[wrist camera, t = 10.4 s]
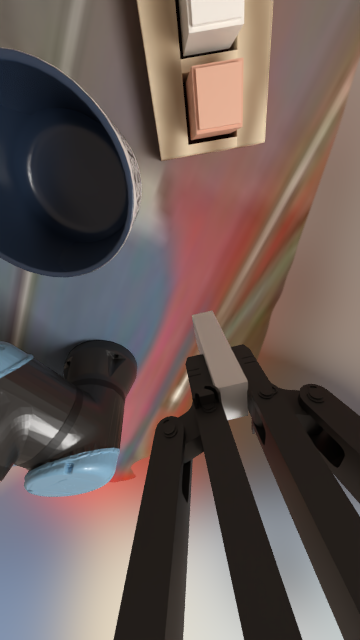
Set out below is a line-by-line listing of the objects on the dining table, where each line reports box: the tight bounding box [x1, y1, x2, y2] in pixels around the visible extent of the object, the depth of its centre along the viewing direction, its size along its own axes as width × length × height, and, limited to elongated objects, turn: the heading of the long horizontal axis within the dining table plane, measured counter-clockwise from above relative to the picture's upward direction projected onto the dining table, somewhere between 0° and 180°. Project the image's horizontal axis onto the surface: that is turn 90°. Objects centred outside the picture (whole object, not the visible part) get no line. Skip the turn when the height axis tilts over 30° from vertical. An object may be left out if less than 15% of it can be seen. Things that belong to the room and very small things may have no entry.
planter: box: [0, 47, 142, 277], centre depth 24 cm, size 16×16×14 cm
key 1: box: [186, 57, 244, 140], centre depth 24 cm, size 5×5×5 cm
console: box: [136, 0, 273, 161], centre depth 22 cm, size 13×22×3 cm, turn 8°
